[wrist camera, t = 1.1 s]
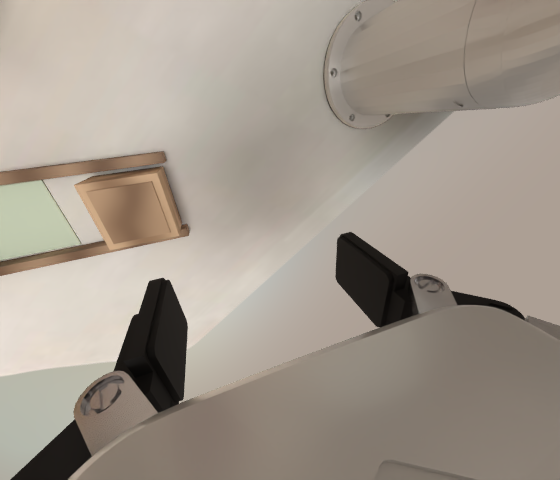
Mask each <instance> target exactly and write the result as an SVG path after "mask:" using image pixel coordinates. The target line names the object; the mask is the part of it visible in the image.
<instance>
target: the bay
mask: <svg viewBox="0 0 560 480" xmlns="http://www.w3.org/2000/svg"><path fill="white" fill-rule="evenodd" d="M165 162H166V158H165V155H164V152H163V151H162V152H154V153H147V154H139V155H131V156H123V157H115V158H107V159H99V160H91V161H84V162H76V163H68V164H60V165H52V166H44V167H36V168H28V169H21V170H13V171H5V172H0V185H1V186H0V260H5V259H10V258H15V257H20V256H25V255H30V254H35V253H40V252H45V251H50V250H55V249H60V248H65V247H70V246H75V245H80V244H81V242H80V241H79V239H78V237H77V236H76V234H75V233H74V231H73V229H72V228H71V226H70V224H69V223H68V221H67V220H66V218H65V216H64V215H63V213H62V211H61V210H60V208H59V207H58V205H57V203H56V202H55V200H54V199H53V197H52V195H51V194H50V192H49V190H48V189H47V187H46V186H45V184H44V182H43V181H42V179H50V178H57V177H64V176H71V175H79V174H86V173H93V172H100V171H108V170H115V169H122V168H129V167H137V166H144V165H151V164H158V163H165ZM35 180H37V181H35ZM28 181H30V182H28ZM21 182H23V183H21ZM13 183H15V184H13ZM6 184H8V185H6ZM185 236H189V228H188V225H187V224H185V225H181V230H180V235H179V236H176V237H172V238H167V239H162V240H158V241H153V242H148V243H143V244H139V245H134V246H129V247H124V248H120V249H115V250H109V248H108V246H107V244H106V242H105V241H101V242H96V243H91V244H86V245H81V246H76V247H71V248H66V249H61V250H56V251H51V252H46V253H41V254H37V255H32V256H27V257H22V258H17V259H12V260H7V261H2V262H0V276H2V275H7V274H11V273H16V272H21V271H25V270H30V269H35V268H40V267H44V266H49V265H54V264H58V263H63V262H68V261H72V260H77V259H82V258H86V257H91V256H96V255H101V254H105V253H110V252H115V251H119V250H124V249H129V248H133V247H138V246H143V245H147V244H152V243H157V242H161V241H166V240H171V239H176V238H180V237H185Z"/></svg>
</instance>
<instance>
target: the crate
mask: <svg viewBox="0 0 560 480" xmlns="http://www.w3.org/2000/svg"><path fill="white" fill-rule="evenodd" d="M74 186H75V188H76V190H77V192H78V194H79V195H80V197H81V199H82V201H83V203H84V204H85V206H86V208H87V210H88V212H89V213H90V215H91V217H92V219H93V221H94V222H95V224H96V226H97V228H98V230H99V232H100V233H101V235H102V237H103V239H104V241H105V242H106V244H107V246H108V248H109V250H115V249H120V248H124V247H129V246H134V245H139V244H143V243H148V242H153V241H158V240H162V239H167V238H172V237H176V236H179V235H180V230H181V224H182V222H181V219H180V216H179V213H178V210H177V207H176V204H175V201H174V198H173V195H172V192H171V189H170V186H169V183H168V181H167V178H166V175H165V172H164V169H163V166H162V167H155V168H148V169H141V170H134V171H127V172H120V173H113V174H106V175H99V176H92V177H90V178H88V179H86V180H84V181H82V182H80V183H78V184H75V185H74Z"/></svg>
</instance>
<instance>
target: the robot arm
mask: <svg viewBox="0 0 560 480" xmlns="http://www.w3.org/2000/svg"><path fill="white" fill-rule="evenodd" d="M331 73H332V76H331ZM324 82H325V91H326V94H327V98H328V101H329V104H330V106H331V108H332V110H333V112H334V113H335V114H336V116H337V117H338V118H339V119H340V120H341V121H342V122H343V123H345V124H347V125H348V126H350V127H354V128H361V129H367V128H373V127H376V126H378V125H381V124H382V123H384V122H386V121H387V120H388V119H389V118H391V117H392V116H393V115H394V114H404V113H422V112H441V111H460V110H478V109H496V108H509V107H519V106H526V105H531V104H535V103H539V102H542V101H545V100H548V99H551V98H554V97H556V96H558V95H560V0H398V1H397V2H395V1H393V0H367V1H364V2H362V3H361V4H359V5H358V6H356V7H355V8H354V9H352V10H351V11H350V12H349V13H348V14H347V15H346V16H345V17H344V18H343V20H342V21H341V22H340V24H339V25H338V27H337V28H336V30H335V32H334V34H333V36H332V38H331V41H330V44H329V47H328V50H327V54H326V60H325V67H324ZM349 117H350V118H349ZM336 259H337V260H336V280H337V282H338V283H339V285H340V286H341V287H342V288H343V289H344V290H345V291H346V292H347V294H348V295H349V296H350V297H351V298H352V299H353V300H354V302H355V303H356V304H357V305H358V306H359V307H360V308H361V309H362V311H363V312H364V313H365V314H366V315H367V316H368V318H369V319H370V320H371V321H372V322H373V323H374V324H375V325H376V326H377V327H380V328H378V329H375V330H372V331H370V332H367V333H364V334H361V335H359V336H356V337H353V338H350V339H348V340H345V341H342V342H340V343H337V344H334V345H332V346H329V347H326V348H324V349H321V350H318V351H316V352H313V353H310V354H307V355H305V356H302V357H299V358H297V359H294V360H291V361H289V362H286V363H283V364H281V365H278V366H275V367H273V368H270V369H267V370H265V371H262V372H259V373H257V374H254V375H251V376H249V377H246V378H244V379H241V380H238V381H236V382H233V383H230V384H228V385H225V386H223V387H220V388H217V389H215V390H212V391H210V392H207V393H205V394H202V395H200V396H197V397H195V398H192V399H190V400H187V401H185V402H182V403H180V404H179V401H181V400H183V397H184V382H185V364H186V347H187V330H188V326H187V320H186V318H185V316H184V313H183V311H182V308H181V306H180V304H179V301H178V299H177V296H176V294H175V292H174V289H173V287H172V285H171V282H170V280H165V279H164V278H160V279H156V280H152V281H149V283H148V286H147V289H146V292H145V295H144V299H143V302H142V305H141V308H140V311H139V314H136V315H134V316H133V318H132V320H131V323H130V325H129V328H128V331H127V334H126V337H125V340H124V343H123V346H122V348H121V351H120V354H119V357H118V360H117V363H116V366H115V369H114V371H113V372H110V373H108V374H106V375H103V376H102V377H100V378H98V379H97V380H95V381H94V382H93V383H92V384H91V385H90V386H89V387H87V388H86V390H85V391H84V392H83V393H82V394H81V395H80V397H79V399H78V401H77V403H76V405H75V408H74V418H75V420H74V421H73V422H72V423H70V424H69V425H68V426H67V427H66V428H65V429H64V430H63V431H62V432H61V433H60V434H59V435H58V436H57V437H55V438H54V439H53V440H52V441H51V442H50V443H49V444H48V445H47V446H46V447H45V448H44V449H43V450H42V451H41V452H39V453H38V454H37V455H36V456H35V457H34V458H33V459H32V460H31V461H30V462H29V463H28V464H27V465H26V466H25V467H24V468H22V469H21V470H20V471H19V472H18V473H17V474H16V475H15V476H14V477H13V478H12V479H11V480H560V326H558V325H555V324H552V323H549V322H546V321H543V320H540V319H537V318H534V317H530V316H527V318H524V316H523V315H522V314H521V313H520V312H519V311H518V310H516V309H515V308H513V307H512V306H510V305H508V304H506V303H503V302H500V301H496V300H492V299H488V298H482V297H478V296H473V295H468V294H464V293H458V292H454V291H451V290H450V289H449V286H448V285H447V284H446V283H445V282H444V281H443V280H441V279H440V278H438V277H435V276H432V275H428V274H417V275H414V276H412V277H411V278H410V277H409V276H408V272H407V271H406V270H405V269H403V268H402V267H400V266H399V265H398V264H396V263H395V262H393V261H392V260H390V259H389V258H388V257H386V256H385V255H383V254H382V253H380V252H379V251H378V250H376V249H375V248H373V247H372V246H371V245H369V244H368V243H366V242H365V241H363V240H362V239H361V238H359V237H358V236H356V235H355V234H354V233H352V232H349V233H345V234H341V235H340V237H339V238H338V240H337V258H336Z"/></svg>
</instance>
